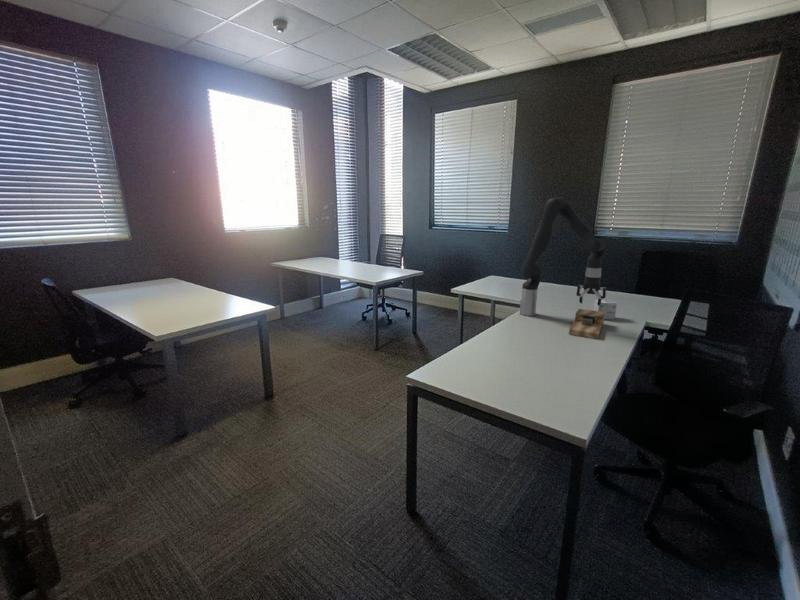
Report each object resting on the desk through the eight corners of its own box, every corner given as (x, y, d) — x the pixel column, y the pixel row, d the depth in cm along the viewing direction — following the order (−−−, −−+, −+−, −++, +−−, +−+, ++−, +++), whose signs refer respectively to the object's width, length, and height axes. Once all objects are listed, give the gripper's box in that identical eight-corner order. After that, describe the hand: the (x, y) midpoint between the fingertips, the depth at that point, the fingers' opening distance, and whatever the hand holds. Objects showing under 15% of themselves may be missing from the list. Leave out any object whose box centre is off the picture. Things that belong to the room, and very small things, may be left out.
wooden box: (568, 334, 199) (570, 321, 197) (577, 320, 223) (578, 308, 222) (597, 339, 192) (599, 326, 190) (603, 323, 216) (604, 312, 214)
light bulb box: (610, 316, 230) (612, 299, 227) (615, 319, 223) (617, 302, 220) (592, 316, 231) (594, 299, 228) (597, 319, 224) (599, 302, 221)
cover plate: (581, 324, 206) (582, 319, 205) (585, 318, 217) (585, 313, 216) (591, 326, 203) (592, 320, 202) (594, 319, 214) (595, 314, 214)
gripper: (577, 275, 200) (574, 304, 204) (607, 278, 192) (603, 307, 196) (579, 273, 206) (576, 301, 210) (608, 275, 198) (604, 304, 202)
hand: (589, 304), depth 203 cm, fingers open, 8 cm apart
